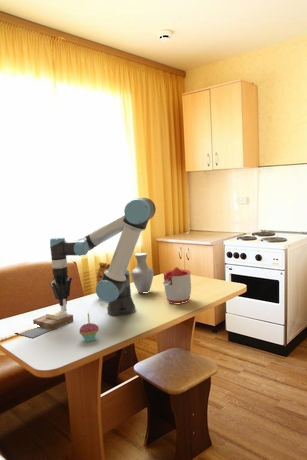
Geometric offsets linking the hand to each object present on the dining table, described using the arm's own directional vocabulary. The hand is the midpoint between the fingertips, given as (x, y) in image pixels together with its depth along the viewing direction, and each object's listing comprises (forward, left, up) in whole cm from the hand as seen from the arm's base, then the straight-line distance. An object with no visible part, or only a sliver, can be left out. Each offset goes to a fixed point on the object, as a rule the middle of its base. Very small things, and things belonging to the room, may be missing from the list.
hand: (63, 311), depth 190 cm
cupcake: (-32, +14, -5) cm, 35 cm away
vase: (-10, -56, -5) cm, 57 cm away
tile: (0, +5, -1) cm, 5 cm away
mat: (+1, +19, -4) cm, 20 cm away
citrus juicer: (-41, -48, -5) cm, 63 cm away
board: (+1, +7, -4) cm, 8 cm away
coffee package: (+4, -38, -5) cm, 39 cm away
